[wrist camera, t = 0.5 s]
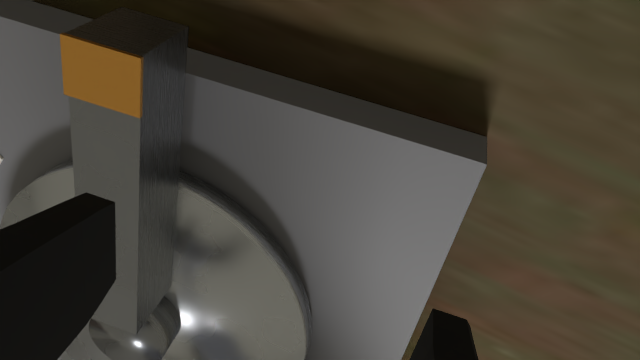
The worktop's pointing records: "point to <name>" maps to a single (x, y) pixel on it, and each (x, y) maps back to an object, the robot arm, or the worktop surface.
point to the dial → (163, 212)
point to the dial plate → (280, 176)
